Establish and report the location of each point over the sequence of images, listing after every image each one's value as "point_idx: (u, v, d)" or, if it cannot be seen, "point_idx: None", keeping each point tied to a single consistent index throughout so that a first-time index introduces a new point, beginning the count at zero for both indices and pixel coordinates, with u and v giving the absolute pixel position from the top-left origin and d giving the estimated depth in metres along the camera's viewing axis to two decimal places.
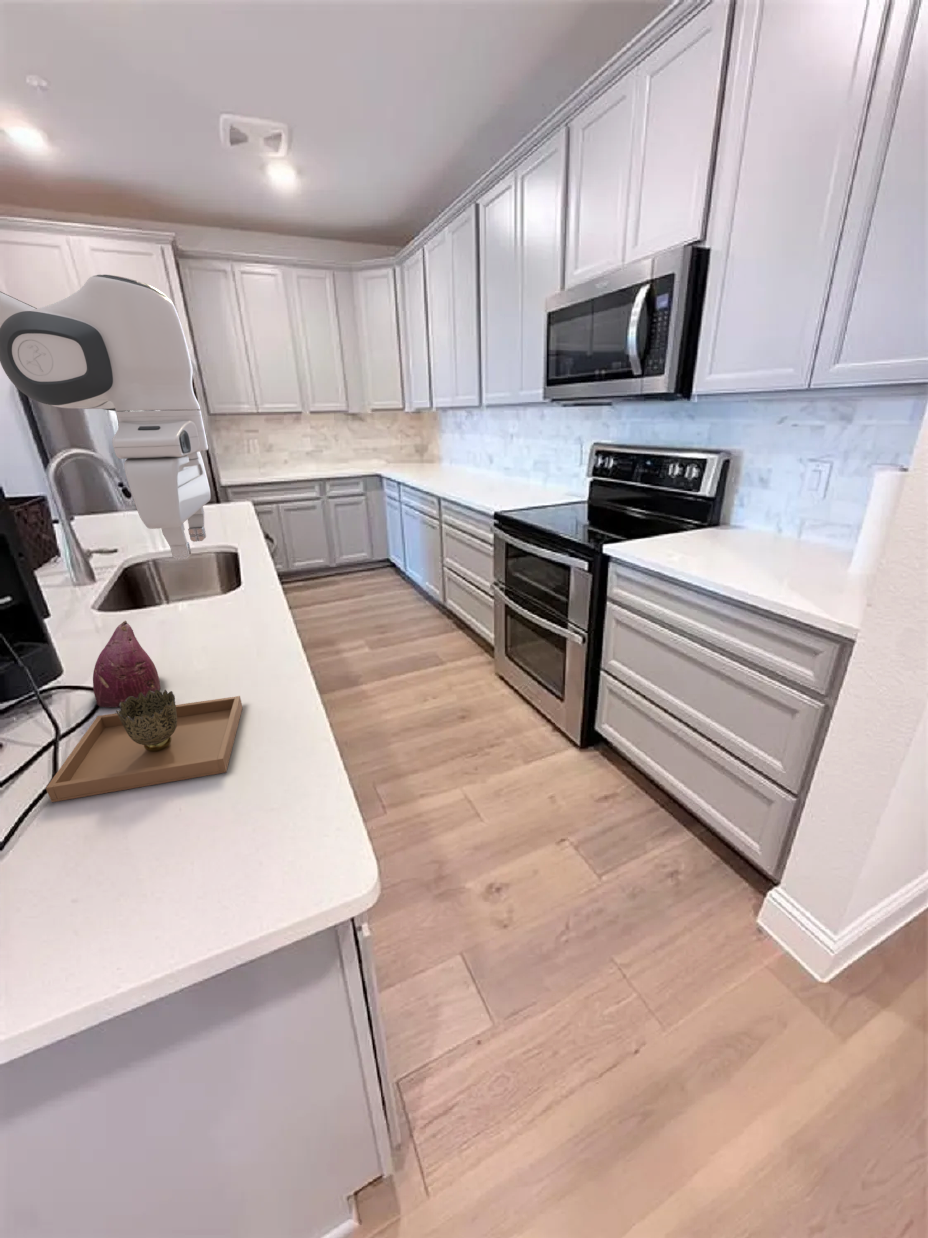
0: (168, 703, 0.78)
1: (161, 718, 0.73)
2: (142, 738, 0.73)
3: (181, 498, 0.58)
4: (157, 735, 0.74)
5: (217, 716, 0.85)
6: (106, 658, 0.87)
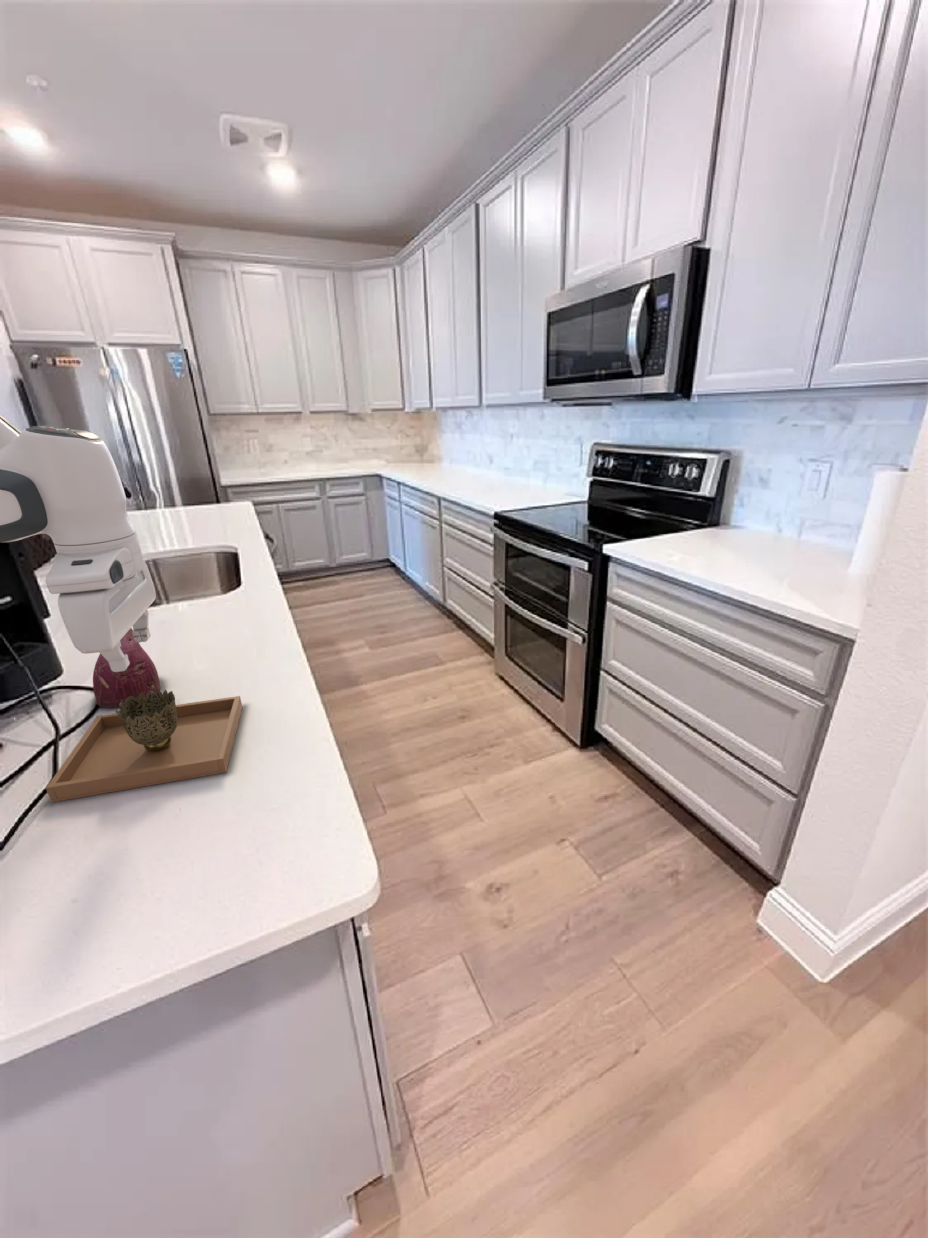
0: (168, 703, 0.78)
1: (161, 719, 0.73)
2: (142, 738, 0.73)
3: (115, 621, 0.63)
4: (157, 735, 0.74)
5: (217, 716, 0.85)
6: None
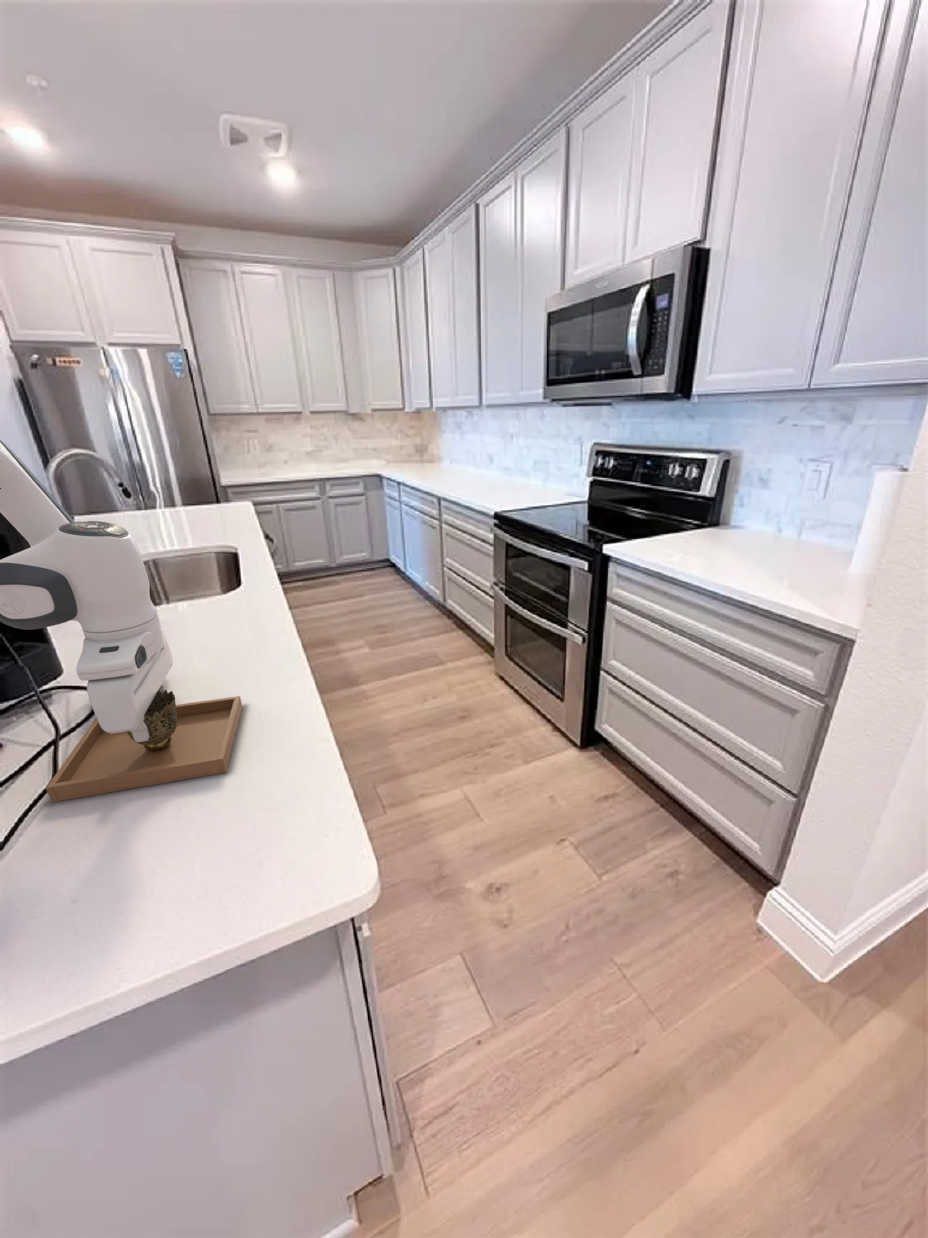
0: (168, 703, 0.78)
1: (161, 718, 0.73)
2: None
3: (138, 700, 0.67)
4: (157, 735, 0.74)
5: (217, 716, 0.85)
6: None
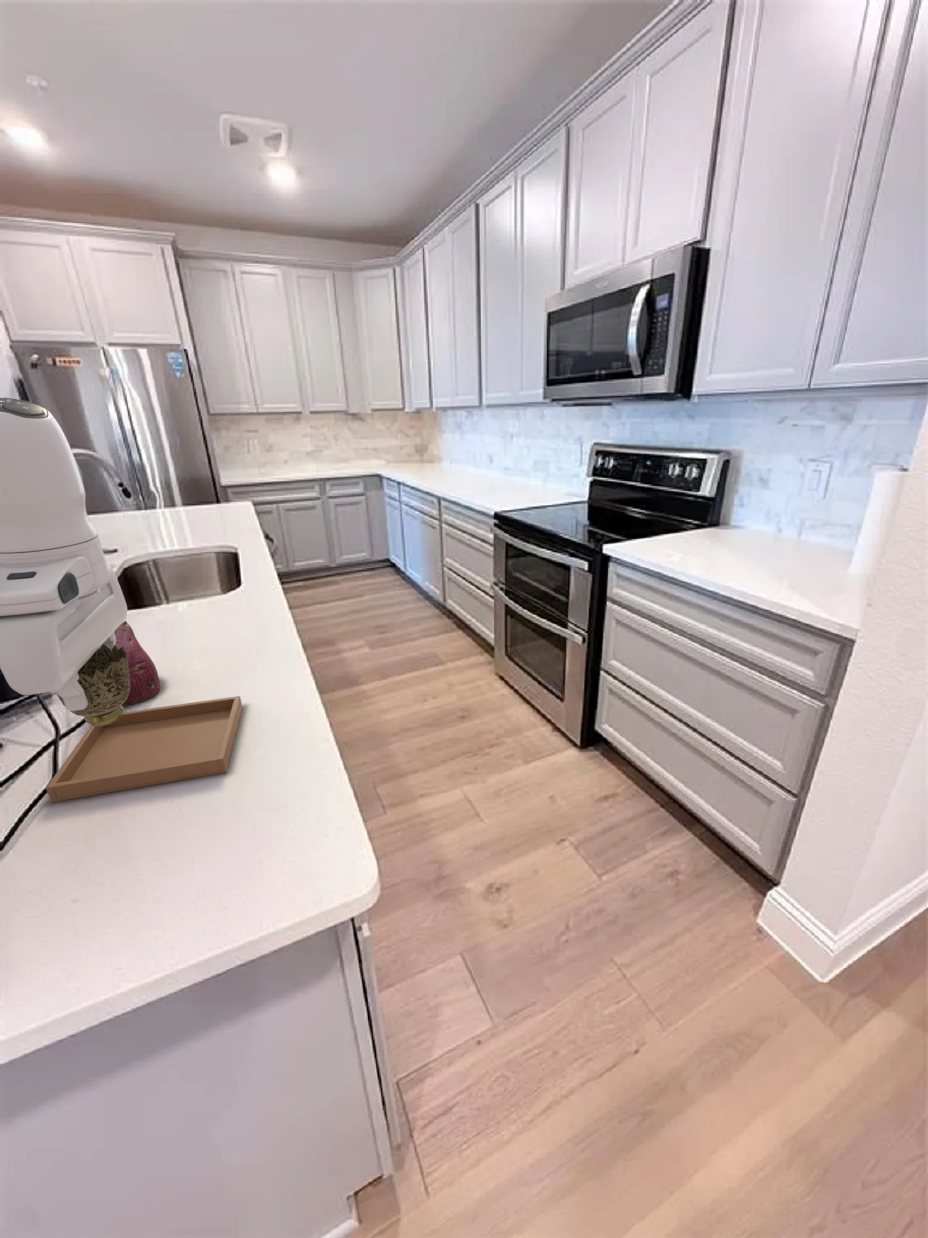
0: None
1: (106, 680, 0.54)
2: None
3: (67, 651, 0.49)
4: (101, 703, 0.55)
5: (217, 716, 0.85)
6: None
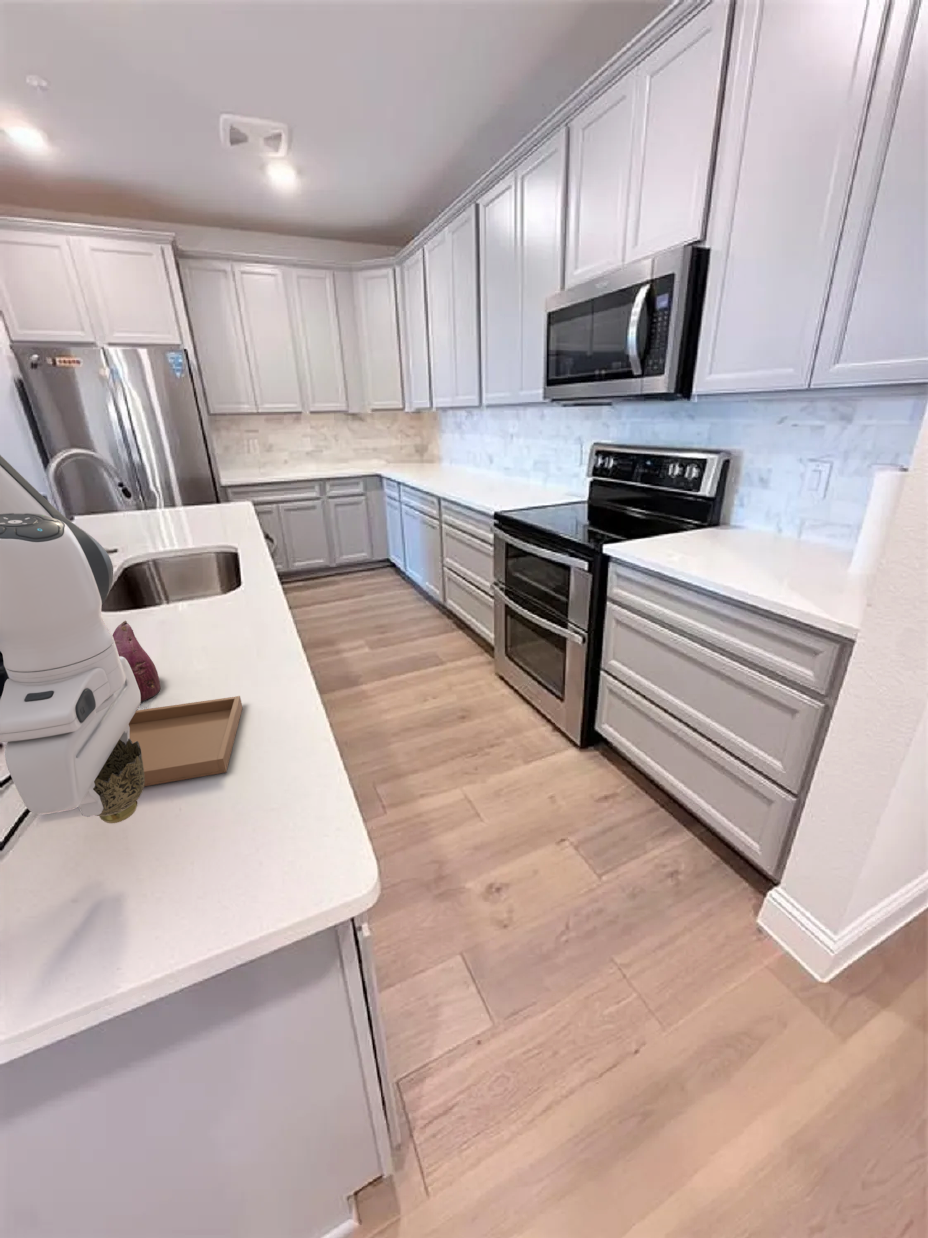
0: (133, 756, 0.59)
1: (121, 782, 0.54)
2: None
3: (84, 765, 0.48)
4: (116, 804, 0.55)
5: (217, 716, 0.85)
6: None
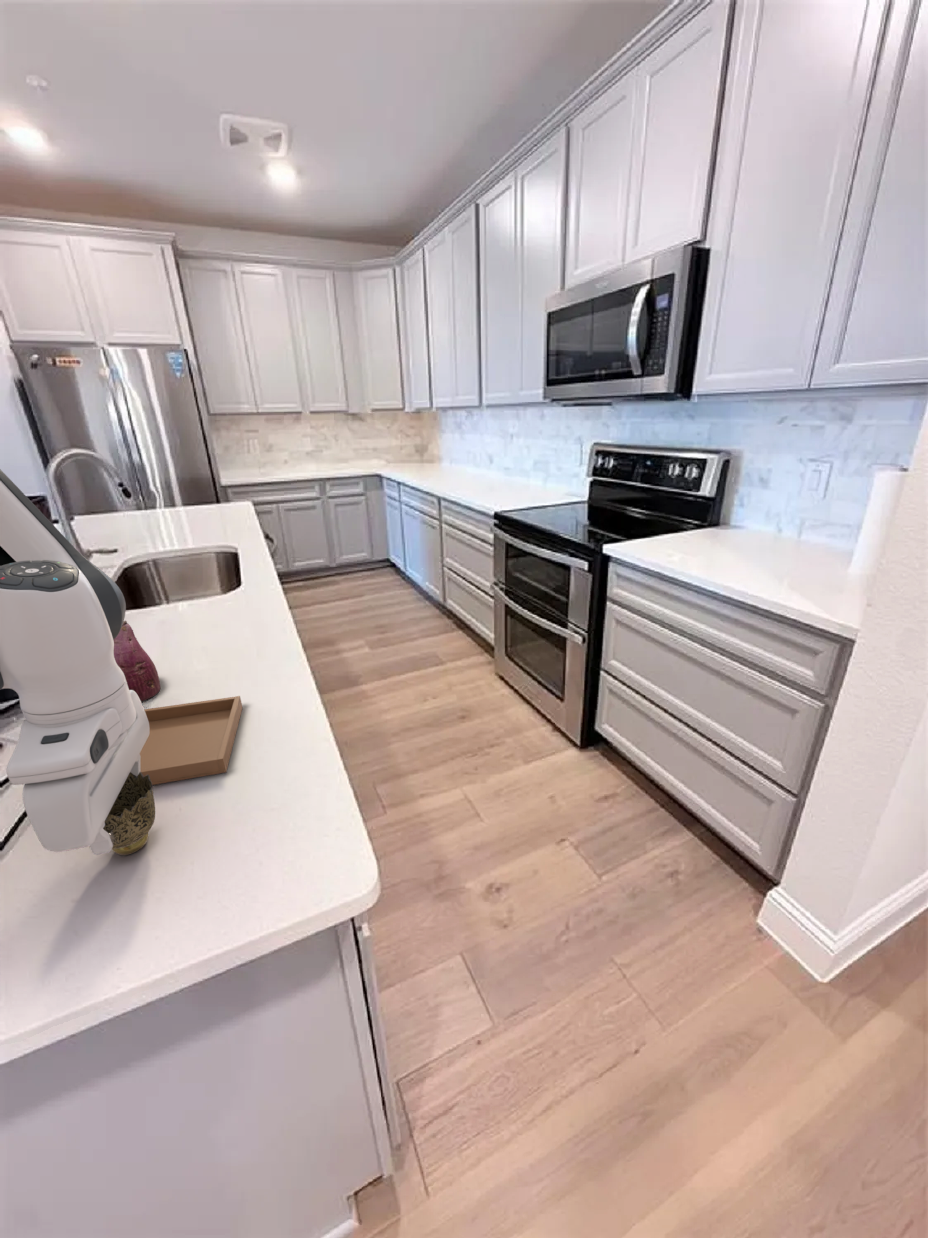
0: (144, 789, 0.61)
1: (133, 817, 0.56)
2: None
3: (97, 803, 0.50)
4: (128, 838, 0.57)
5: (217, 716, 0.85)
6: None
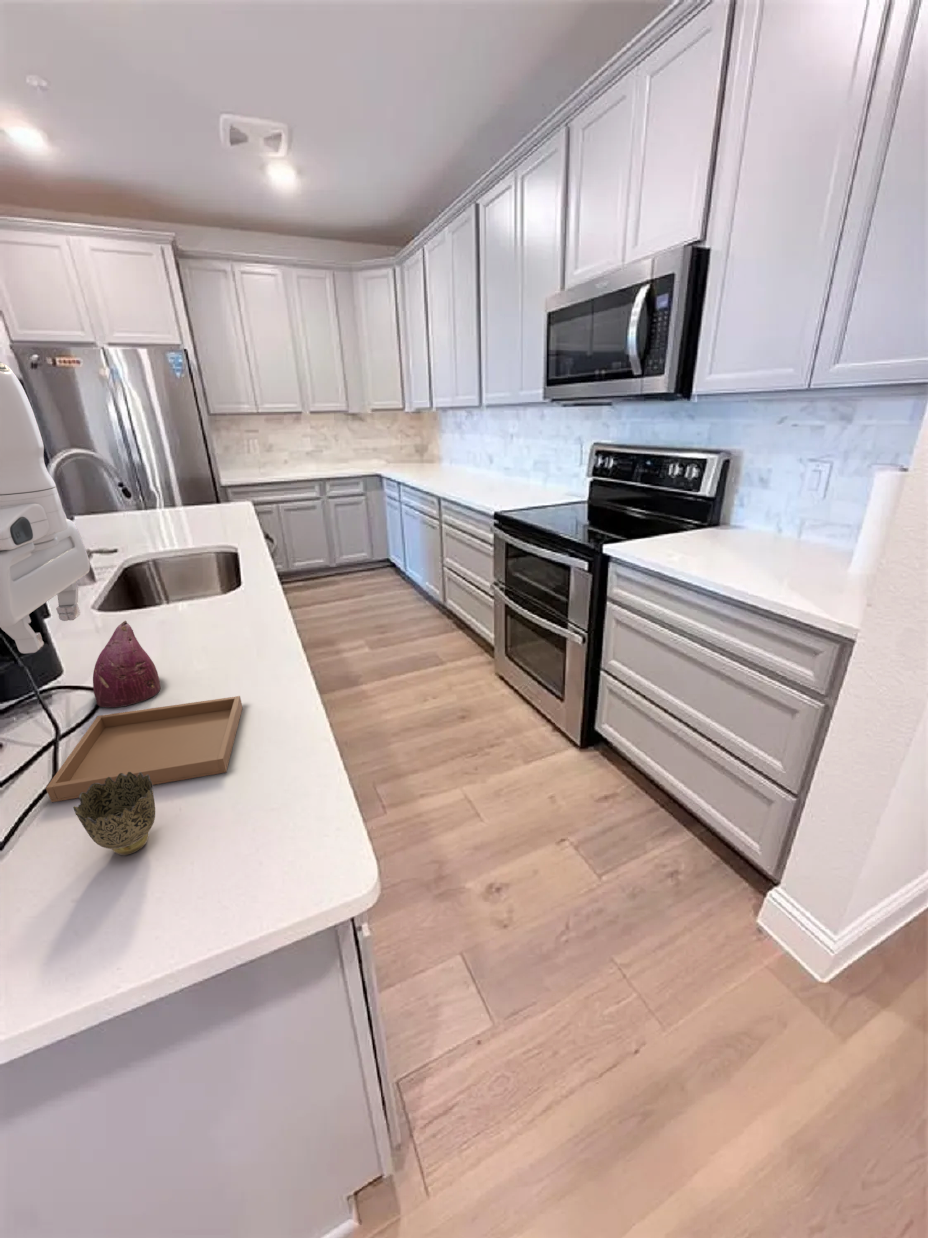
0: (144, 789, 0.61)
1: (133, 816, 0.56)
2: (108, 842, 0.56)
3: (20, 591, 0.52)
4: (128, 838, 0.57)
5: (217, 716, 0.85)
6: (106, 658, 0.87)
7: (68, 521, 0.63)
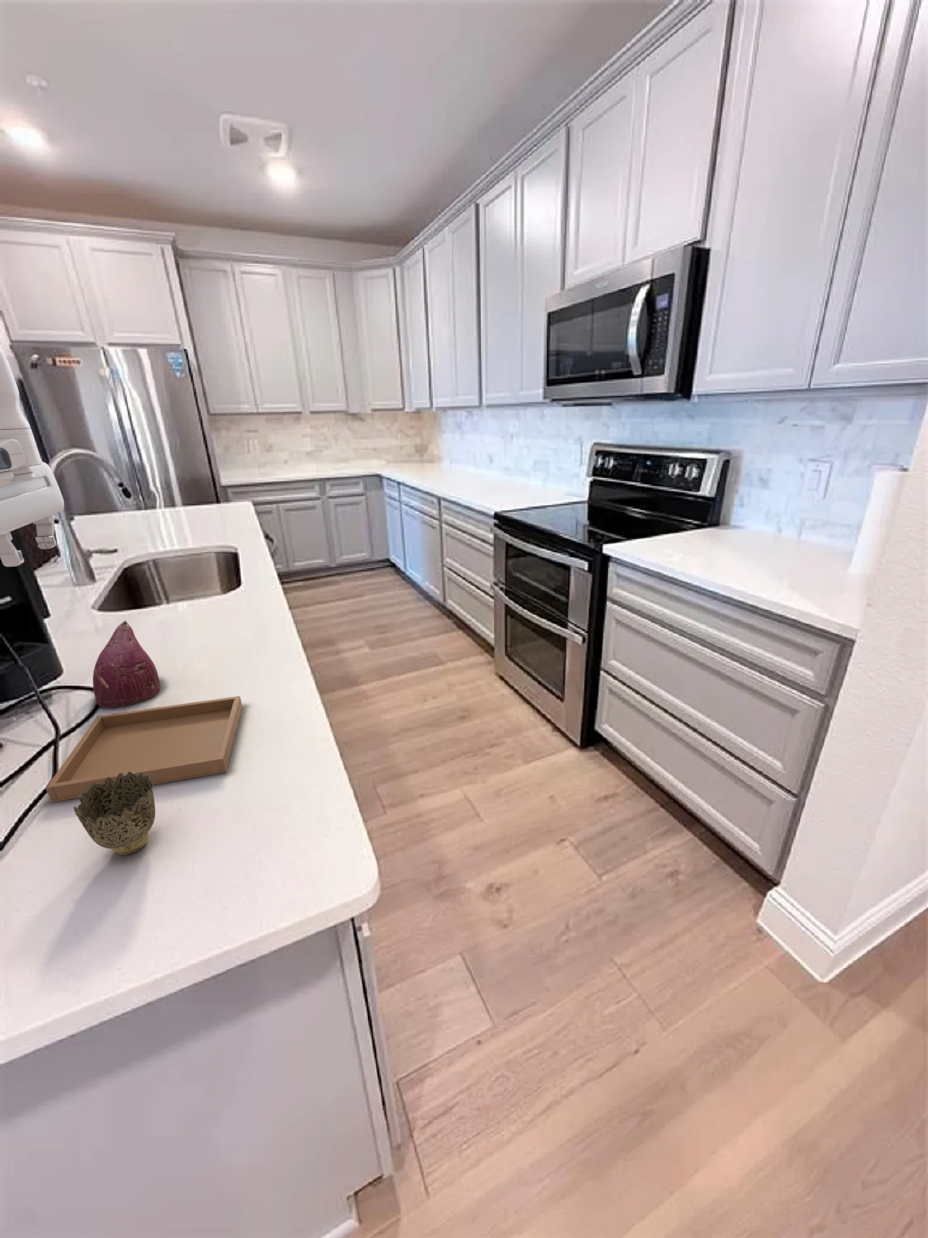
0: (144, 789, 0.61)
1: (133, 816, 0.56)
2: (108, 842, 0.56)
3: (2, 510, 0.63)
4: (128, 838, 0.57)
5: (217, 716, 0.85)
6: (106, 658, 0.87)
7: (43, 463, 0.74)
